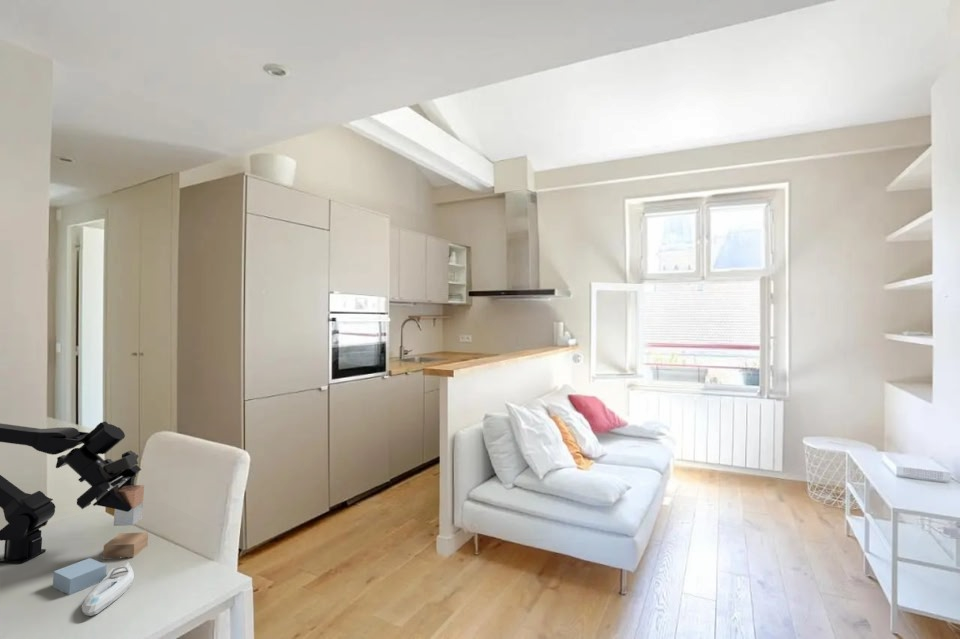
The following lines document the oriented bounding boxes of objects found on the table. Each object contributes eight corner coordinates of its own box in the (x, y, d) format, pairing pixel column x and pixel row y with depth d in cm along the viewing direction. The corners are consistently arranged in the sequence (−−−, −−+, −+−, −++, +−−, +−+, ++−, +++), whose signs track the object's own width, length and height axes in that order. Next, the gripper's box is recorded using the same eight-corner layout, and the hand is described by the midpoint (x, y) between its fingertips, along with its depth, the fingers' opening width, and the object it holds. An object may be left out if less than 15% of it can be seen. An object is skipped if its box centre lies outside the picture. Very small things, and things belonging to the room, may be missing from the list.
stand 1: (52, 586, 104) (53, 571, 104) (88, 572, 110) (89, 557, 110) (69, 595, 101) (70, 579, 101) (105, 579, 108) (106, 564, 108)
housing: (113, 525, 118) (115, 491, 119) (123, 518, 123) (125, 485, 123) (132, 525, 119) (135, 490, 119) (142, 518, 124) (144, 485, 124)
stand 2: (102, 559, 117) (103, 545, 117) (118, 546, 123) (119, 533, 124) (133, 557, 118) (134, 544, 118) (147, 544, 125) (148, 532, 125)
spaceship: (112, 618, 95) (113, 596, 95) (72, 624, 92) (73, 602, 92) (147, 563, 116) (147, 545, 116) (115, 567, 114) (116, 549, 114)
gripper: (93, 454, 112) (141, 497, 113) (135, 436, 130) (175, 474, 132) (54, 487, 110) (103, 530, 112) (102, 464, 128) (143, 502, 130)
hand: (134, 506), depth 121 cm, fingers closed on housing, 4 cm apart
